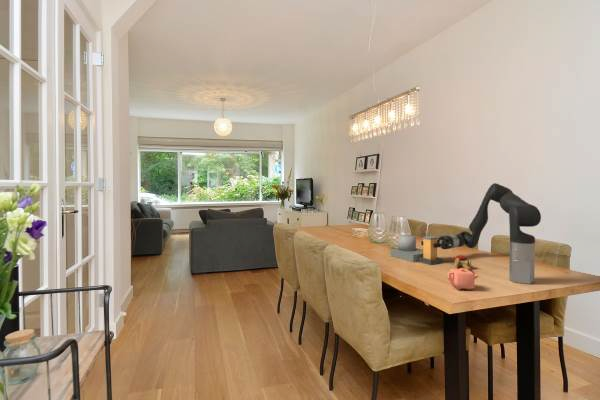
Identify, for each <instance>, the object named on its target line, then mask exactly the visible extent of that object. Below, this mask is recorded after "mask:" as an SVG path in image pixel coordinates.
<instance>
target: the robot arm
mask: <svg viewBox="0 0 600 400" xmlns="http://www.w3.org/2000/svg"><path fill="white" fill-rule="evenodd" d="M491 201H493V202H496V203H498V204H499V207H500V208H501V209H502V210H503V211H504V212H505V213H507V214H508V220H509V221H508V223H509V265H508V267H509V272H508V273H509V274H508V275H509V276H508V277H509V278H508V279H509V281H511V282H513V283H518V284H519V283H520V284H527V285H531V284H534V283H535V267H536V266H535V262H536V261H535V259H536V257H535V255H536V238H535V237H536V236H534V235H532V234H529V233H525V232H523V231H522V230H521V228H520V227H523V228H525V227H527V228H533V227H537V226H538V225H539V224H540V223H541V220H542V214H541V212H540V210H539V208H538V207H536V206H535V205H532V204H530V203H528V202H526V201H525V200H524V199H522V198H521V197H520V196H519V195H517V194H515V193H514V192H513V190H511V189H510V188H508V187H506V186H504V185H501V184H499V183H496V182H495V183H493V184H491V185H490V186H489V187H488V189H487V191H486V192H485V195H484V197H483V199H482V200H481V203H480V206H479V208H478V210H477V212H476V214H475V216H474V218H473V219H472V221H471V222H470V224H469V225H468V228H469V230H470V232H468V231H464V230H463V231H461V232H460V233H457V234H448V235H447V234H446V235H441V236H439V237H438V239H437V243H434V244H433V247H434V248H437V249H438V248H440V249H442V250H449V249H455V248H460V247H463V246H465V247H467V248H469V249H473V248H475V247H477V245H478V243H479V240H480V237H481V234H482V232H483V230H484V228H485V227H486V225H487V223H488V221H489V211H488V209H489V205H490V204H489V203H491ZM420 243H421V246H423V240H422V241H421V242H420Z"/></svg>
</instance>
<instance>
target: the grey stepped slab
mask: <svg viewBox="0 0 600 400" xmlns="http://www.w3.org/2000/svg"><path fill="white" fill-rule="evenodd" d="M397 243H398V244H397V245H398V246H397V248H391V249H390V257H393V258H397V259H400V260H402V261H403V260H404V261H407V262H411V263H417V262H418V263H422V264H426V265H429V266H432V265H433V266H434V265H439V264H443V263H444V262H443V261H444V258H442V257H439V256H437V259H432V260H430V259H426V258H423V249H421V248H417V237H416V235H410V234H400V235H398V240H397Z"/></svg>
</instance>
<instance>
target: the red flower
mask: <svg viewBox="0 0 600 400" xmlns="http://www.w3.org/2000/svg"><path fill="white" fill-rule="evenodd" d="M453 258H454V259H453V263H454V266H455V267H456V268H458V267H460V268H464V269H467V270H469V271H471V272H472V273H473V269H472V268H471V267H472V260H471V259H467V258H466V257H465V256H464V255H461V254H460V255H456V256H455V257H453Z"/></svg>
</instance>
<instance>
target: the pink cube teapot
mask: <svg viewBox="0 0 600 400" xmlns="http://www.w3.org/2000/svg"><path fill="white" fill-rule="evenodd" d="M479 277H480V276H479V275H478V274H477V273H473V271H472V272H471V271H469V270H467V269H464V268H463V267H460V268H450V270H449V271H447V280H448V281H449V283H450V284H451V285H452V287H454V288H456V290H457V291H461V290H462V289H463V290H464V289H466V290H467V291H471V290H473V289H475V279H477V278H479Z"/></svg>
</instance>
